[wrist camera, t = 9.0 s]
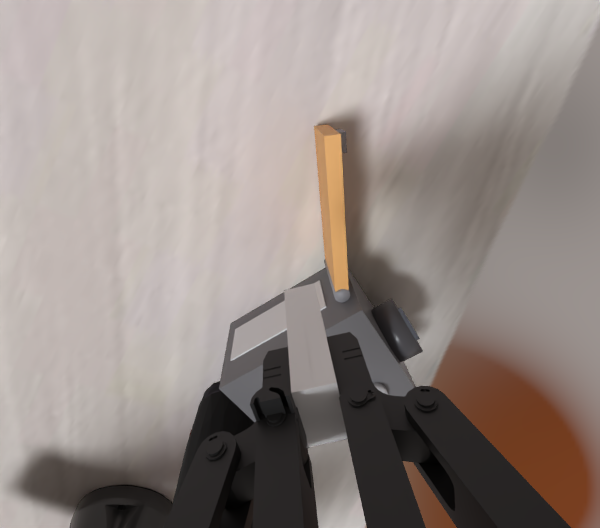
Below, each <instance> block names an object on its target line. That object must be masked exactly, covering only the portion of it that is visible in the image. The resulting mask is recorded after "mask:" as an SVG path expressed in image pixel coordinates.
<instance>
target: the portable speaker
mask: <svg viewBox="0 0 600 528" xmlns="http://www.w3.org/2000/svg"><path fill="white" fill-rule="evenodd" d="M219 385H220V382H219V383H216V384H213V385H212V386H211V387H210V388H209V389H208V390H207V391H205V393H204V396H203V399H202V401H201V402H200V405H199V408H198V411H197V415H196V418H195V421H194V424H193V427H192V430H191V433H190V437H189V440H188V443H187V447H186V451H185V455H184V459H183V463H182V467H181V471H180V476H179V480H178V484H177V488H176V492H175V496H174V500H173V505H174V502H175V500H176V498H177V495H178V493H179V491H180V489H181V486H182V484H183V482H184V479H185V477H186V475H187V472H188V470H189V468H190V466H191V463H192V461H193V459H194V456H195V454H196V452H197V450H198V448H199V446H200V445H201V443H202V442H203V441H204V440H205V439H206V438H207V437H208V436H210V435H212V434H214V433H216V432H221V431H225V432H230V433H231V434H232V435H233V436H235V435H237V434H239V433H241V432H242V431H244V430H246V429H248V428H249V427H251V426H252V425H253V424H254V423H255V422H254V421H253V420H252V419H250V418H249V417H248V416H247V415H246V414H245V413H244V412H243V411H242V410H241V409H240V408H239V407H238V406H237V405H236V404H235V403H234V402H232V401H231V400H230V399H229V398H228V397H227V396H226V395H225V394H224V393H223V392H222V391H221V390H220V389H219ZM173 505H172V507H173ZM251 528H253V520H252V524H251Z"/></svg>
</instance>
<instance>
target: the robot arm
mask: <svg viewBox="0 0 600 528" xmlns="http://www.w3.org/2000/svg"><path fill="white" fill-rule="evenodd" d="M284 295H285V309H286V324H287V338H288V347H284V348H280V349H276V350H271V351H268V352H267V354H266V356H265V358H264V360H263V383H262V388H261V389H260V390H258V391H257V392H256V393H255V394H254V395H253V397H252V398H251V402H250V406H251V409H252V411H253V414H254V416H255V419H256V422H255V423H254V424H253V425H252V426H251V427H249V428H248V429H246V430H244V431H242V432H241V433H239V434H237V435H235V436H233V435H232V434H231V433H230V432H225V431H221V432H216V433H214V434H212V435H210V436H208V437H207V438H206V439H205V440H204V441H203V442H202V443H201V445H200V446H199V448H198V450H197V452H196V454H195V456H194V459H193V461H192V463H191V466H190V468H189V470H188V472H187V475H186V477H185V479H184V482H183V484H182V486H181V489H180V491H179V493H178V495H177V498H176V500H175V502H174V505H173V504H172V503H171V502H170V501H169V500H168V499H166V498H165V497H163V496H162V495H160V494H158V493H156V492H153V491H151V490H148V489H144V488H140V487H133V486H112V487H106V488H102V489H98V490H96V491H93V492H91V493H89V494H88V495H86V496H85V497H84V498H83V499H82V500H81V501H80V502H79V504H78V506H77V509H76V511H75V513H74V515H73V517H72V520H71V523H70V528H251V524H252V520H253V528H318V519H317V510H316V501H315V492H314V483H313V475H312V466H311V460H310V457H309V454H308V447H307V443H308V446H309V447H313V446H317V445H322V444H326V443H331V442H336V441H340V440H345V439H348V443H349V447H350V452H351V456H352V461H353V466H354V470H355V475H356V479H357V484H358V489H359V493H360V498H361V502H362V507H363V511H364V516H365V521H366V525H367V528H426V527H425V524H424V522H423V518H422V516H421V513H420V510H419V507H418V504H417V501H416V499H415V496H414V493H413V490H412V487H411V484H410V482H409V479H408V476H407V473H406V470H405V467H404V465H403V462H402V461H409V462H414V464H415V466H416V467H417V469H418V470H419V472H420V473H421V475H422V476H423V478H424V479H425V481H426V482H427V484H428V485H429V487H430V488H431V490H432V491H433V493H434V494H435V495H436V497H437V499H438V500H439V502H440V503H441V504H442V506H443V507H444V509H445V510H446V512H447V513H448V515H449V516H450V518H451V519H452V521H453V522H454V524H455V525H456V527H457V528H571V527H570V526H569V525H568V524H567V523H566V522H565V521H564V520H563V519H562V518H561V517H560V515H559V514H558V513H557V512H556V511H555V510H554V509H553V508H552V507H551V506H550V505H549V504H548V503H547V502H546V501H545V500H544V499H543V498H542V497H541V496H540V494H539V493H538V492H537V491H536V490H535V489H534V488H533V487H532V486H531V485H530V484H529V483H528V482H527V481H526V480H525V479H524V478H523V477H522V475H521V474H520V473H519V472H518V471H517V470H516V469H515V468H514V467H513V466H512V465H511V464H510V463H509V462H508V461H507V460H506V459H505V458H504V457H503V455H502V454H501V453H500V452H499V451H498V450H497V449H496V448H495V447H494V446H493V445H492V444H491V443H490V442H489V441H488V440H487V439H486V438H485V436H484V435H483V434H482V433H481V432H480V431H479V430H478V429H477V428H476V427H475V426H474V425H473V424H472V423H471V422H470V421H469V420H468V419H467V418H466V416H465V415H463V413H462V412H461V411H460V410H459V409H458V408H457V407H456V406H455V405H454V404H453V403H452V402H451V401H450V400H449V399H448V398H447V397H446V396H445V394H443V393H442V392H441V391H439V390H438V389H436V388H433V387H430V386H419V387H415V388H413V389H411V390H410V391H409V392H408V393H407V394H406V396H392V395H387V394H385V393H382V392H381V391H379V390H378V389H377V388H376V387H375V386H374V384H373V382H372V379H371V376H370V374H369V371H368V368H367V365H366V362H365V359H364V356H363V354H362V351H361V348H360V345H359V342H358V339H357V338H356V337H355V336H354V335H353V334H352V333H350V332H347V333H342V334H338V335H333V336H329V337H327V336H326V331H325V327H324V323H323V318H322V314H321V310H320V306H319V302H318V297H317V293H316V289H315V285H314V283H313V284H309V285H305V286H301V287H296V288H292V289H288V290H284ZM172 505H173V507H172Z"/></svg>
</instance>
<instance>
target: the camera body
mask: <svg viewBox="0 0 600 528" xmlns="http://www.w3.org/2000/svg"><path fill="white" fill-rule="evenodd" d="M313 283H314V285H315V289H316V293H317V297H318V302H319V306H320V310H321V314H322V318H323V323H324V327H325V331H326V336H327V337H329V336H333V335H338V334H342V333H347V332H350V333H352V334H353V335H354V336H355V337H356V338H357V339H358V342H359V345H360V348H361V351H362V354H363V356H364V359H365V362H366V365H367V368H368V371H369V374H370V376H371V379H372V382H373V384H374V386H375V387H376V388H377V389H378V390H379V391H381V392H382V393H385V394H387V395H392V396H406V394H407V393H408V392H409V391H410V390H411V389H413V388H415V387H416V386H415V384H414V382H413V380H412V378H411V376H410V374H409V372H408V369H407V367H406V365H405V363H404V361H405V360H407V359H409V358H411V357H413V356H415V355H417V354H419V353H421V352H423V350H422V348H421V347H420V345H419V343H418V341H417V340H418V339H419V337H418V335H417V333H416V331H415V330H414V328H413V326H412V325H411V323H410V321H409V320H408V318H407V316H406V315H405V313H404V311H403V310H402V308H401V307H400V308H398V307H397V306H396V304H395V303H394V301H393V300H392V299H390V300H388V301H386V302H384V303H383V304H381V305H379V306H377V307H375V308H374V307H373V305H372V304H371V302H370V301H369V299H368V298H367V296H366V295H365V293H364V292H363V290H362V289H361V287H360V285H359V284H358V282H357V281H356V279H355V278H354V276H353V275H352V273H351V272H350V270H349V269H348V285H349V292H350V298H349V299H348V300H347V301H346V302H338V301H336V300H335V297H334V294H333V290H332V287H331V283H330V280H329V276H328V273H327V269H326V268H324V269H323V270H321V271H319V272H318V273H316V274H314V275H313V276H311V277H309V278H307V279H306V280H304V281H302V282H301V283H299V284H297V285H296V286H294V287H292V288H296V287H301V286H305V285H309V284H313ZM292 288H290V289H292ZM284 347H288V338H287V324H286V309H285V295H284V293H282V294H280V295H279V296H277V297H275V298H274V299H272V300H270V301H268V302H267V303H265V304H263V305H262V306H260V307H258V308H257V309H255V310H253V311H251V312H250V313H248V314H246V315H245V316H243V317H241V318H240V319H238V320H236V321H234V322H233V323H231V325H230V330H229V336H228V341H227V347H226V352H225V358H224V363H223V369H222V374H221V380H220V385H219V389H220V390H221V391H222V392H223V393H224V394H225V395H226V396H227V397H228V398H229V399H230V400H231V401H232V402H234V403H235V404H236V405H237V406H238V407H239V408H240V409H241V410H242V411H243V412H244V413H245V414H246V415H247V416H248V417H249V418H250V419H252V420H253V421H254V422H256V419H255V416H254V414H253V411H252V409H251V406H250V402H251V398H252V397H253V395H254V394H255V393H256V392H257V391H258V390H260V389H261V388H262V383H263V360H264V358H265V356H266V354H267V352H268V351H271V350H276V349H280V348H284ZM307 447H308V448H309V446H308V443H307Z"/></svg>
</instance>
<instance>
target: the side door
mask: <svg viewBox="0 0 600 528" xmlns="http://www.w3.org/2000/svg"><path fill="white" fill-rule="evenodd" d="M314 130H315V142H316V154H317V166H318V178H319V191H320V203H321V215H322V227H323V239H324V251H325V260H324V262H325V266H326V269H327V273H328V276H329V280H330V283H331V287H332V290H333V294H334V297H335V300H336V301H338V302H346V301H347V300H348V299H349V298H350V292H349V285H348V265H347V245H346V226H345V206H344V187H343V167H342V153H347V148H346V131H344V130H342V129H336V130H335V129H333V128H332V127H330V126H329V125H319V126H314Z"/></svg>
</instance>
